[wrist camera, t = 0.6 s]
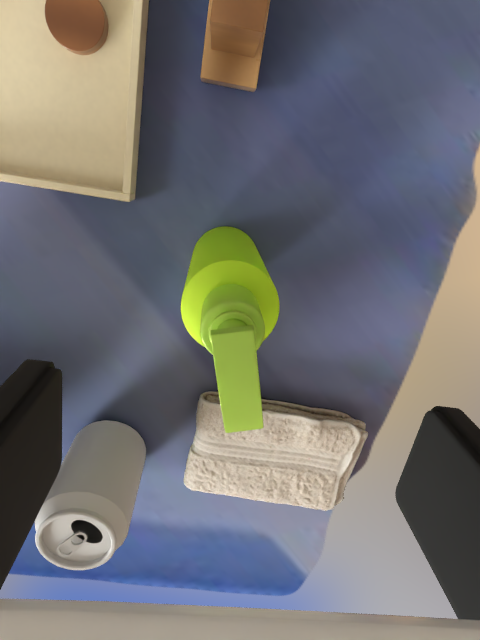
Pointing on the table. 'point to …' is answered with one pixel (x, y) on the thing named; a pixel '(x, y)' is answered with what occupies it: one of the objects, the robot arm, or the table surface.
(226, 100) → the table surface
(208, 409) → the washcloth
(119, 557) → the table surface
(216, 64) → the brush
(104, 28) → the cork disc
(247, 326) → the lime green pump bottle
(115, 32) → the tray
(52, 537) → the can
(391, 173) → the table surface
